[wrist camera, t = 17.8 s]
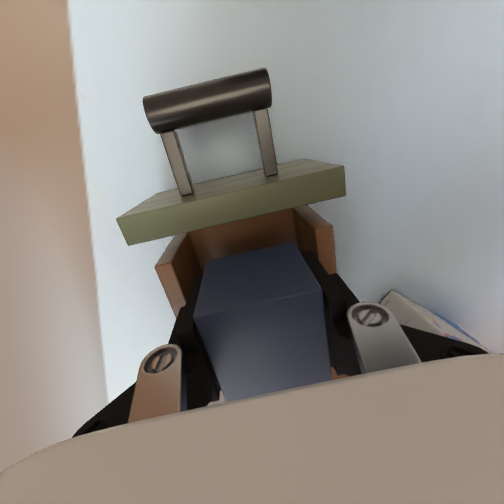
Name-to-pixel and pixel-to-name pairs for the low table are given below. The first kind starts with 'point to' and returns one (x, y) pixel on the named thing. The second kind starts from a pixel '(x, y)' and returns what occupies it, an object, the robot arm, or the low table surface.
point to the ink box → (424, 319)
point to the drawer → (229, 189)
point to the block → (263, 322)
